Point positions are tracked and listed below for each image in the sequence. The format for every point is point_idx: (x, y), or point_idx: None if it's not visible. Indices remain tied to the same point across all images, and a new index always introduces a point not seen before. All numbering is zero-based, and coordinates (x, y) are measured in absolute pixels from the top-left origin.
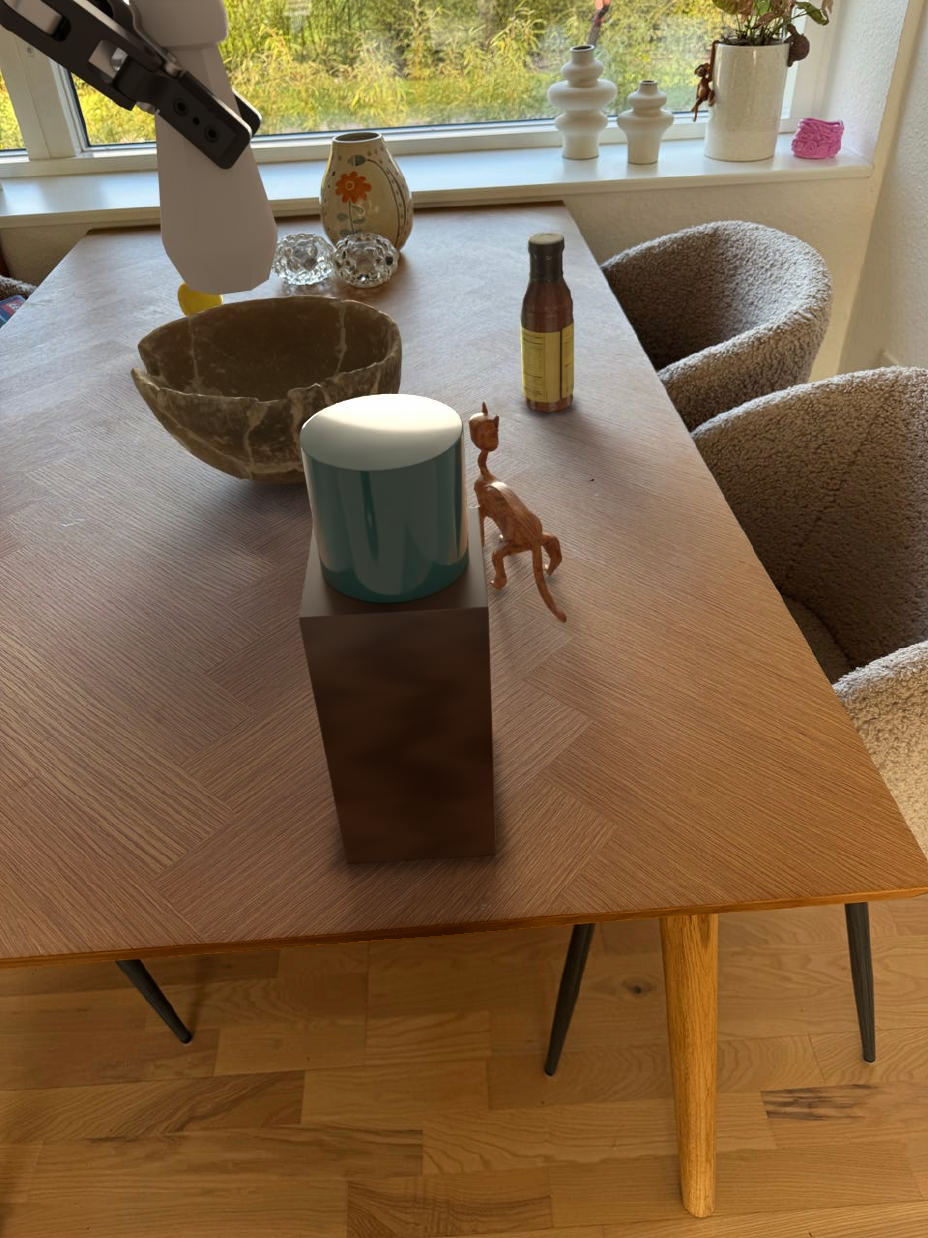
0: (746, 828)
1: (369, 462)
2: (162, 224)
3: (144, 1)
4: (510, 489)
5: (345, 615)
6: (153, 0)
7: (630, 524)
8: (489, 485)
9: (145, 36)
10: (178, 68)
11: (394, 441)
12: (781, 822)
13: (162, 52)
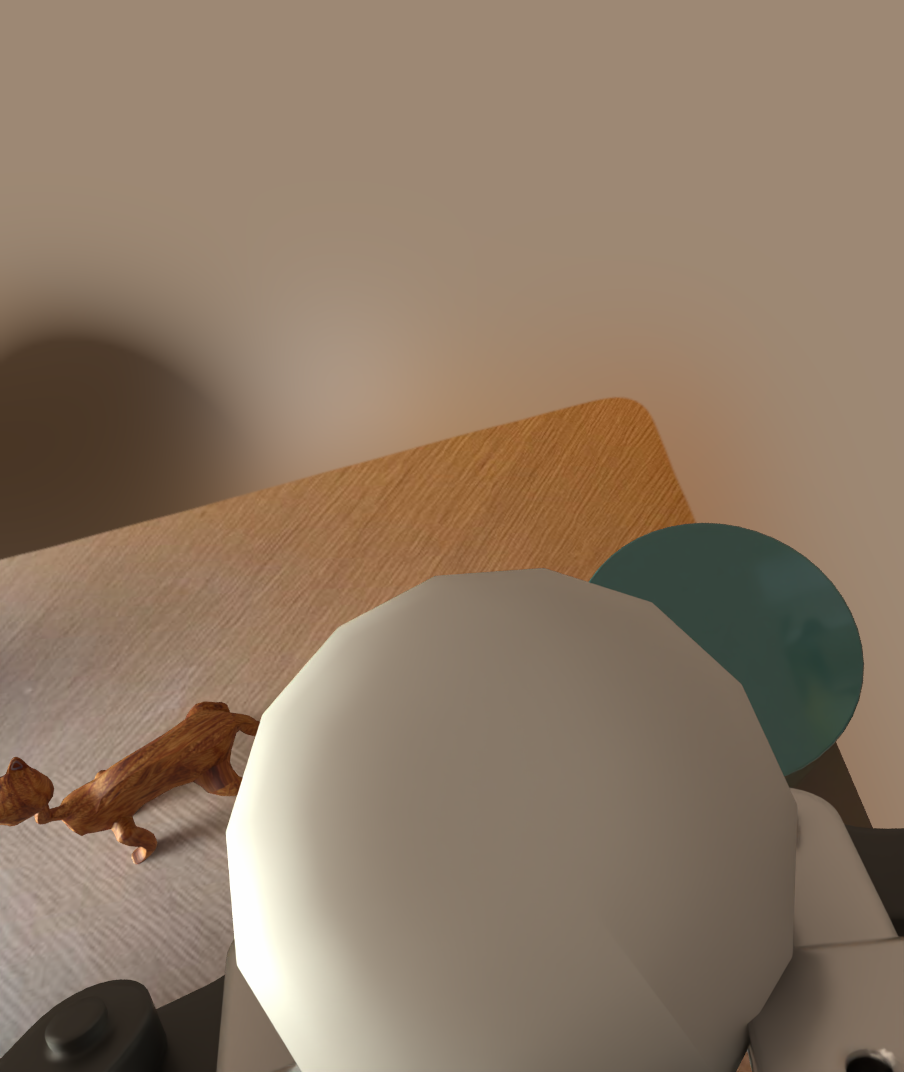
0: (614, 510)
1: (830, 632)
2: None
3: (794, 894)
4: (126, 759)
5: (843, 761)
6: (787, 826)
7: (108, 640)
8: (101, 799)
9: (857, 909)
10: (793, 790)
11: (748, 612)
12: (600, 483)
13: (820, 841)
